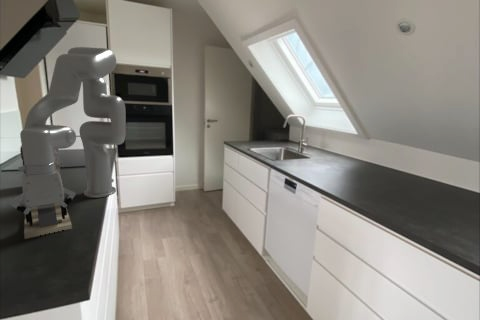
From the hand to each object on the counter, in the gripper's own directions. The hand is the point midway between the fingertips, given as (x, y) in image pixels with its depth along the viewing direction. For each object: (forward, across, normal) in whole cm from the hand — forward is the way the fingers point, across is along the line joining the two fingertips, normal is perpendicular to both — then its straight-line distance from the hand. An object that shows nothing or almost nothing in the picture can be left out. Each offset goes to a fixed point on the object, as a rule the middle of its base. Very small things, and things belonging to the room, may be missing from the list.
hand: (47, 220), depth 85 cm
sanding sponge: (+1, 0, 0) cm, 1 cm away
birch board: (+3, 0, +8) cm, 8 cm away
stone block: (+3, 0, +46) cm, 46 cm away
